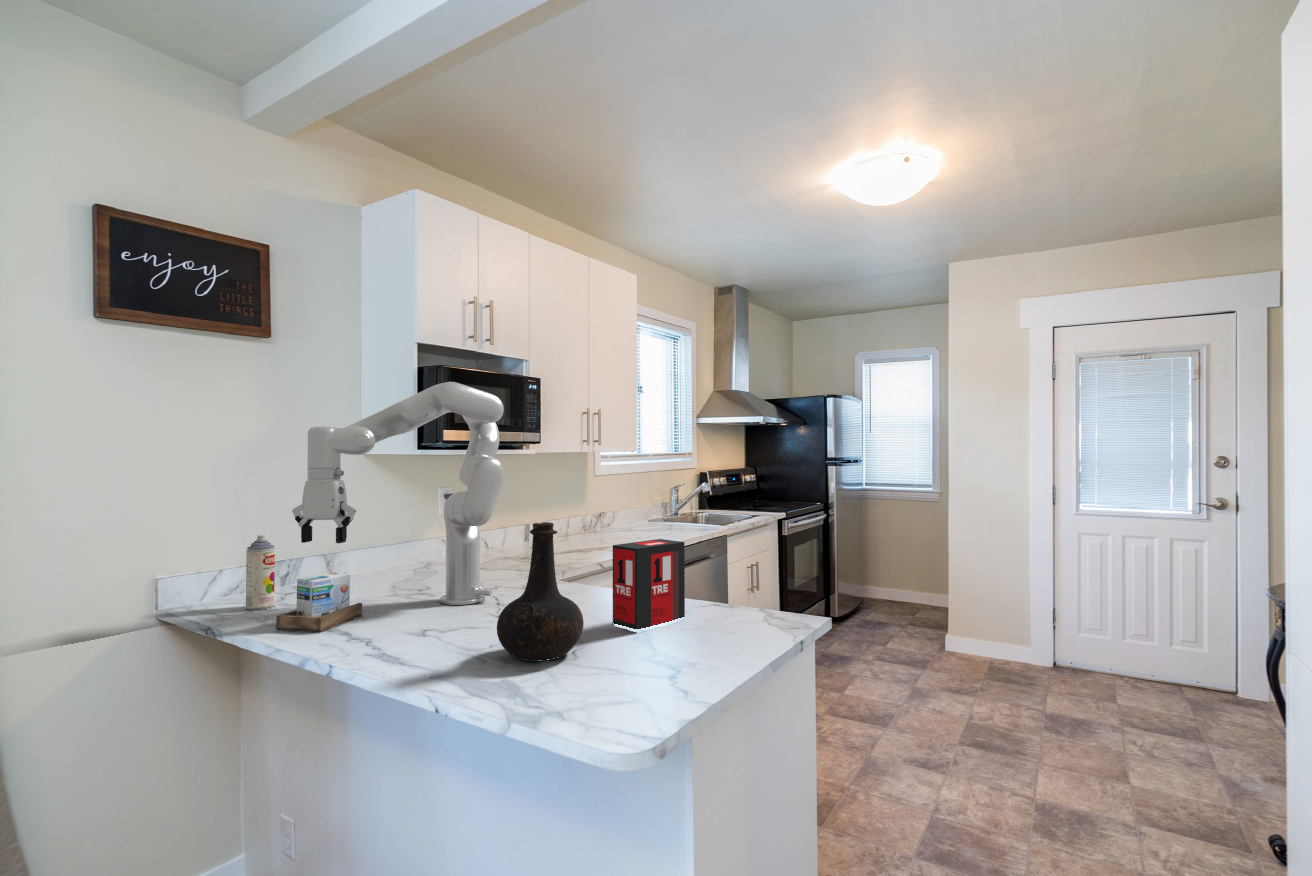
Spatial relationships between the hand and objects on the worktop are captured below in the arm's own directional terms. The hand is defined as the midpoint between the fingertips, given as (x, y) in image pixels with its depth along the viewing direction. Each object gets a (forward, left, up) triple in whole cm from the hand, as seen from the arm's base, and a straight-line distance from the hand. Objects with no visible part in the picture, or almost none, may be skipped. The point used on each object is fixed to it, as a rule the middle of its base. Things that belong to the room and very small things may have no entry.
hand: (323, 542), depth 165 cm
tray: (0, +1, -20) cm, 20 cm away
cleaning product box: (-82, -12, -21) cm, 85 cm away
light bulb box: (0, 0, -20) cm, 20 cm away
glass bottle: (-64, +17, -21) cm, 69 cm away
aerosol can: (+28, -11, -20) cm, 36 cm away
